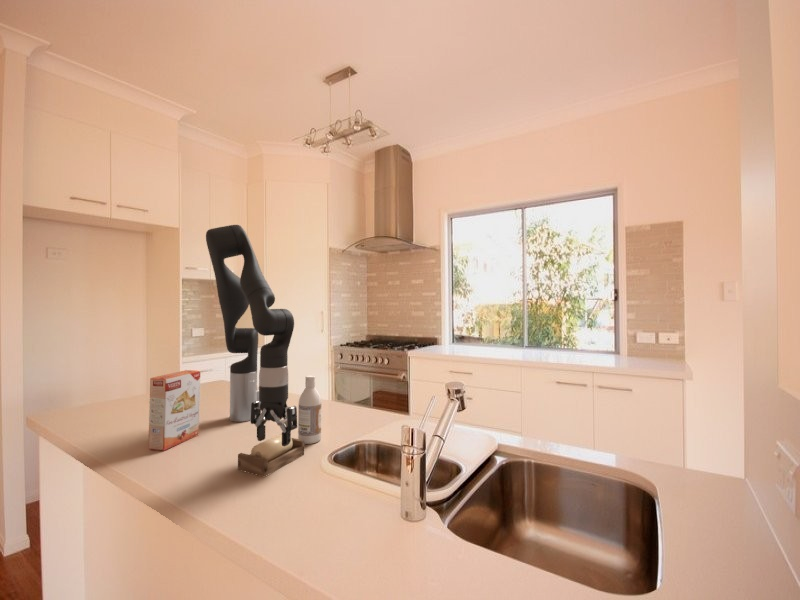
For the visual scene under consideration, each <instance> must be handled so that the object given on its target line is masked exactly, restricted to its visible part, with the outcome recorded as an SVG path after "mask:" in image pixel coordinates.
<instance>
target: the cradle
mask: <svg viewBox="0 0 800 600" xmlns="http://www.w3.org/2000/svg"><path fill="white" fill-rule="evenodd" d="M291 438H292V442H293V446H292V448H291V450H290V451H288V452H287V453H285V454H283V455H281V456H279V457H277V458H276V459H274V460H272V461H270V462H268V463H267V459H264V458H260V457H256V456H252V455H251V453H250V454H247V453H245V452H244V453H243V452H240V453H238V454H237V471H240V470H242V471H241V472H244V471H246V472H245V473H248V472H249V474H251V473H253V474H252V475H255V474H257V475H256V476H259V475H260V476H259V477H262V476H265V477H267V476H268V474H269V475H270V473H271V474H272V473H273V472H276V471H278V470H279V469H281V468H283V467H285V466H286V465H288V464H290V463H292V462H293V461H295V460H297V459H299V458H300V457H302V456H304V455H305V444H304V440H299V439H298V438H294V437H291ZM277 469H278V470H277ZM266 475H267V476H266Z"/></svg>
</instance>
